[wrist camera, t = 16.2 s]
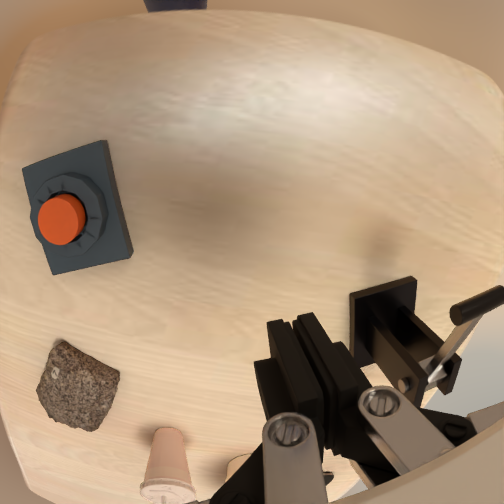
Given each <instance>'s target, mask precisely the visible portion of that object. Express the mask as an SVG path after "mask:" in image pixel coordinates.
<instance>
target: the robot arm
mask: <svg viewBox="0 0 504 504" xmlns="http://www.w3.org/2000/svg"><path fill="white" fill-rule="evenodd" d="M292 325H293V329H292V327H291V325H290V323H289V322H283V320H282V319H279V320H274V321H269V322H267V331H268V338H269V346H270V354H271V358H269V359H264V360H259V361H254V368H255V374H256V379H257V384H258V389H259V393H260V397H261V401H262V405H263V409H264V412H265V416H266V420H267V422H266V424H265V425H264V427H263V431H262V443H261V444H260V445H259V446H258V448H257V449H256V450H255V451H254V452H253V453H252V454H251V456H250V457H249V458H248V459H247V460H246V461H245V462H244V463H243V464H242V465H241V467H240V468H239V469H238V470H237V471H236V472H235V473H234V474H233V475H232V476H231V477H230V478H229V479H228V480H227V481H226V483H225V484H224V485H223V486H222V487H221V488H220V489H219V490H218V491H217V492H216V493H215V494H214V495H213V496H212V498H211V499H208V500H205V501H201V502H198V501H197V500H196V501H192V502H189V503H185V504H504V402H501V403H498V404H496V405H493V406H490V407H487V408H484V409H481V410H478V411H476V412H472V413H469V414H468V415H467V417H465V418H464V417H462V416H459V415H453V414H448V413H442V412H438V411H433V410H428V409H423V408H418V407H415V406H414V405H413V404H412V403H411V402H410V401H409V400H408V399H407V398H406V397H405V396H404V395H403V394H402V393H401V392H399V391H398V390H397V389H395V388H392V387H389V386H375V387H372V385H371V384H370V382H369V381H368V379H367V378H366V376H365V375H364V373H363V372H362V370H361V369H360V367H359V366H358V364H357V363H356V361H355V360H354V358H353V357H352V355H351V354H350V352H349V351H348V349H347V348H346V346H345V345H344V344H343V342H341V341H339V342H336V343H332V342H331V340H330V338H329V337H328V335H327V334H326V332H325V330H324V329H323V327H322V326H321V324H320V323H319V321H318V319H317V318H316V316H315V315H314V313H313V312H311V313H307V314H302V315H298V316H297V320H293V322H292ZM324 447H325V449H326V450H328V449H331V450H332V452H333V455H334V456H336V455H339V454H341V456H342V457H344V458H347V459H349V461H350V463H351V466H352V467H353V468H354V470H355V471H356V473H357V474H358V475H359V477H360V478H361V479H362V481H363V482H364V484H365V485H366V487H367V488H368V490H365V491H362V492H360V493H357V494H354V495H351V496H348V497H345V498H342V499H339V500H336V501H333V502H330V503H328V498H327V492H326V486H325V481H324V475H323V470H322V463H323V453H324Z"/></svg>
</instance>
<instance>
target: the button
mask: <svg viewBox="0 0 504 504" xmlns="http://www.w3.org/2000/svg"><path fill="white" fill-rule="evenodd" d="M85 220H86V216H85V210H84V208H83V205H82V204H81V202H80V201H79V200H78V199H77V198H76V197H74V196H72V195H69V194H61V195H58V196H56V197H54V198H52V199H49V200H48V201H46V202H45V203H44V204H43V205H42V207H41V209H40V211H39V215H38V225H39V229H40V231H41V233H42V235H43V236H44V237H45V239H47V240H48V241H49V242H51V243H53V244H56V245H65V244H67V243H69V242H70V241H72V240H73V239H74V238H75V237H76V236H77V235H78V234H79V233H80V232H81V231H82V230H83V228H84V225H85Z"/></svg>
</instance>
